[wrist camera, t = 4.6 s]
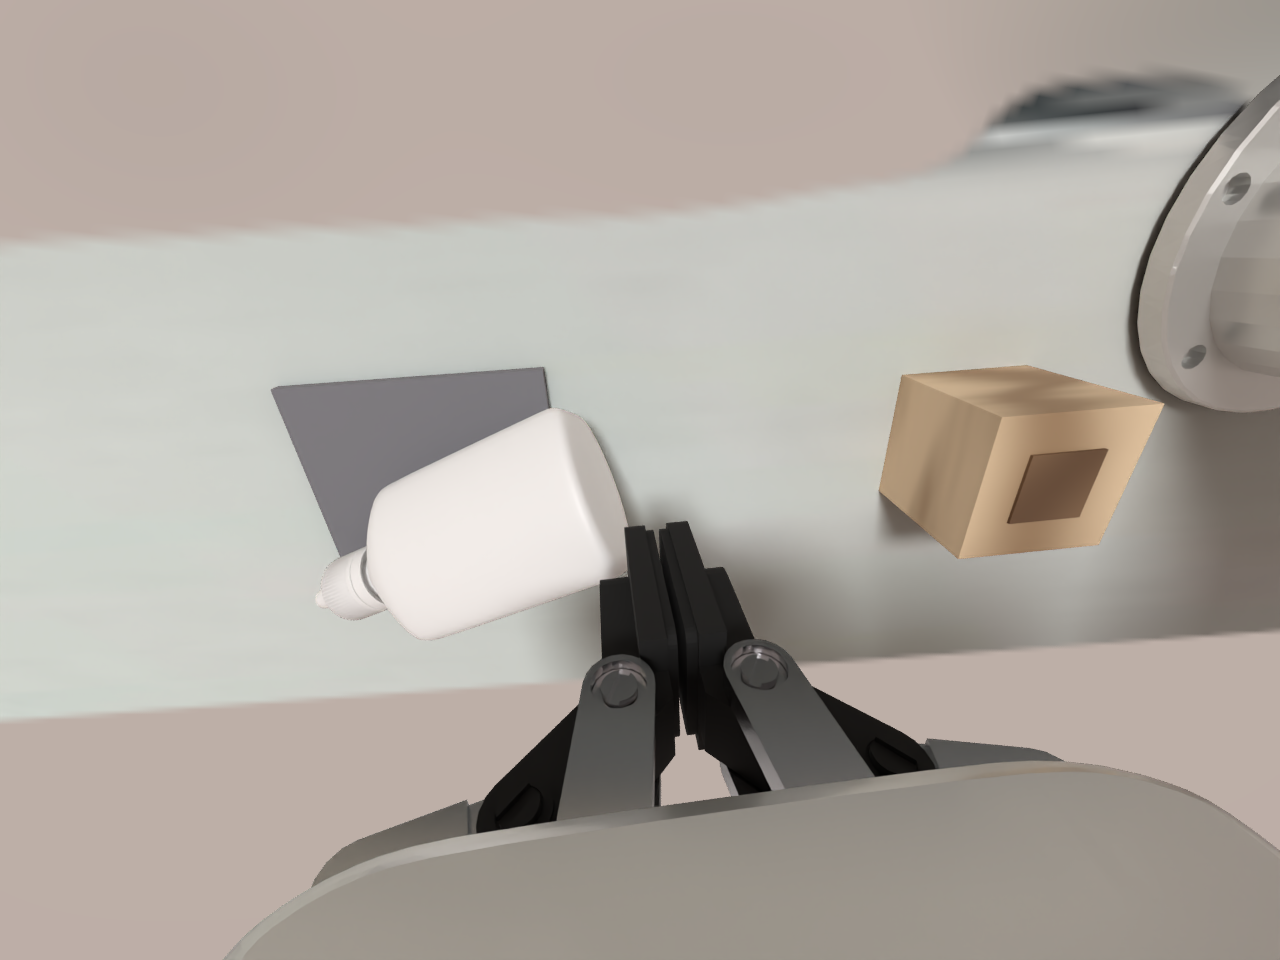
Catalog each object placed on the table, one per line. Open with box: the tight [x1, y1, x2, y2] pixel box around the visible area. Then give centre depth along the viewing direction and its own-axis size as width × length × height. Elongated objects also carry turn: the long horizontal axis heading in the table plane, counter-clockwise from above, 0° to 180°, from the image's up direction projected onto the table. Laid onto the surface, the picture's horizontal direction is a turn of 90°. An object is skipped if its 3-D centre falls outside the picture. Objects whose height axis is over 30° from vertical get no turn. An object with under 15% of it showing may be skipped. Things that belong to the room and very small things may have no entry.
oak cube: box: [879, 365, 1165, 559], centre depth 17 cm, size 5×5×5 cm
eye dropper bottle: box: [315, 408, 628, 640], centre depth 16 cm, size 4×6×12 cm
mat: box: [271, 367, 550, 557], centre depth 18 cm, size 9×8×1 cm
